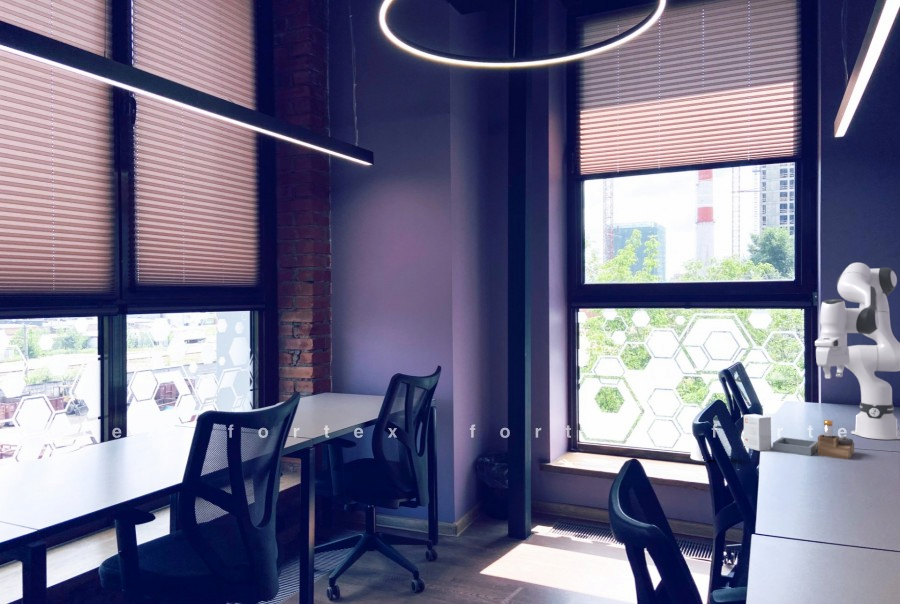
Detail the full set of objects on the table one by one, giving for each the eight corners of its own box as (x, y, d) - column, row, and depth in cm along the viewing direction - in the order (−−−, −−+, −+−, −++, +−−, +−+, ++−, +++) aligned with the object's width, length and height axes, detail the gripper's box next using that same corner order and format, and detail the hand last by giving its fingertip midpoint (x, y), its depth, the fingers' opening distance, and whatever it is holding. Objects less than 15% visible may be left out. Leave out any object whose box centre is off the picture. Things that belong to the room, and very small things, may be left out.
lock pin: (825, 443, 249) (824, 420, 249) (833, 444, 247) (833, 420, 247) (823, 444, 247) (823, 421, 247) (831, 445, 245) (831, 421, 245)
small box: (771, 449, 256) (771, 417, 256) (759, 451, 254) (758, 418, 254) (755, 445, 264) (755, 413, 264) (743, 447, 262) (743, 414, 262)
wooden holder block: (824, 449, 256) (824, 431, 256) (854, 453, 249) (854, 435, 249) (817, 455, 247) (817, 437, 247) (848, 459, 240) (848, 440, 240)
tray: (782, 444, 265) (782, 437, 265) (818, 449, 256) (818, 441, 256) (773, 450, 255) (772, 442, 255) (810, 455, 246) (810, 447, 246)
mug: (709, 464, 236) (709, 431, 236) (685, 461, 241) (685, 429, 240) (717, 457, 245) (716, 426, 245) (693, 454, 250) (693, 423, 250)
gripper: (836, 340, 257) (837, 375, 257) (812, 341, 245) (812, 378, 245) (854, 341, 252) (854, 377, 252) (830, 342, 240) (830, 379, 240)
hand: (833, 377), depth 248 cm, fingers open, 8 cm apart
